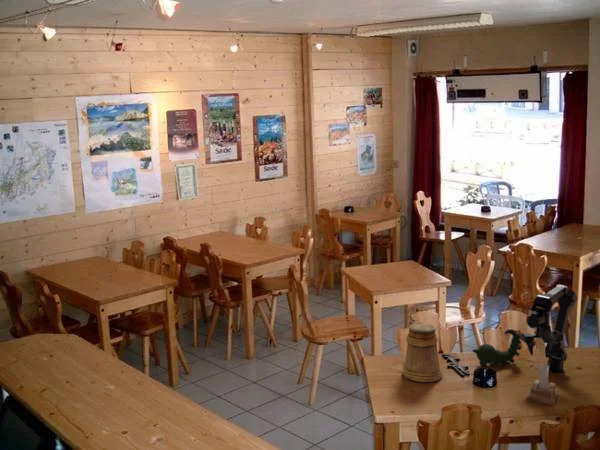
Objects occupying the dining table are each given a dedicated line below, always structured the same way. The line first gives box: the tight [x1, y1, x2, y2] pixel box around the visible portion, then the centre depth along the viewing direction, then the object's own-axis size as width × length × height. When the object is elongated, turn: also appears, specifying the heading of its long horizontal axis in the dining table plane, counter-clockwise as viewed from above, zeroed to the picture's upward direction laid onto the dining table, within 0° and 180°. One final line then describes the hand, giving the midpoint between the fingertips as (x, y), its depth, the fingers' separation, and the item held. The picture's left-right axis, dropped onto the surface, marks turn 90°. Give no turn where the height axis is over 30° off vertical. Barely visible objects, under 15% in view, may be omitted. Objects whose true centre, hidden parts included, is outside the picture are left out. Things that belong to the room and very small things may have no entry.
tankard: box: [402, 317, 443, 383], centre depth 342 cm, size 18×24×25 cm
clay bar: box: [538, 363, 550, 391], centre depth 315 cm, size 4×3×13 cm, turn 151°
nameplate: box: [441, 353, 470, 379], centre depth 353 cm, size 28×2×10 cm
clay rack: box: [526, 379, 559, 406], centre depth 316 cm, size 12×11×6 cm
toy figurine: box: [472, 328, 522, 368], centre depth 352 cm, size 9×19×25 cm
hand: (541, 354), depth 332 cm, fingers open, 9 cm apart
